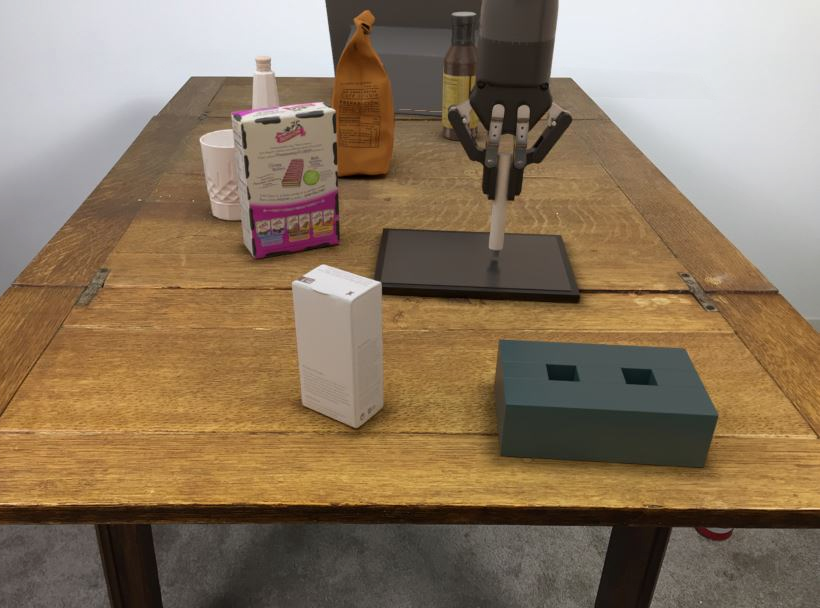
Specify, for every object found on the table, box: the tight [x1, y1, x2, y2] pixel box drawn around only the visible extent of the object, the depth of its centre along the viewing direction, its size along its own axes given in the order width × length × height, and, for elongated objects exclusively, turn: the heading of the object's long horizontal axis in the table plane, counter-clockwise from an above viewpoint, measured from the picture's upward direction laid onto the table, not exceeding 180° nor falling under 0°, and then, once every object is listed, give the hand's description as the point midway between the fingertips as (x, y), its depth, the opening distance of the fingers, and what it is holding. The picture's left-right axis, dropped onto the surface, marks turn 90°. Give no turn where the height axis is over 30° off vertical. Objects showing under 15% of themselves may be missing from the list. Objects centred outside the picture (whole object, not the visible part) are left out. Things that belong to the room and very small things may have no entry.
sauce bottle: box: [441, 12, 480, 142], centre depth 130 cm, size 6×6×20 cm
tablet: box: [373, 227, 581, 304], centre depth 91 cm, size 16×22×1 cm
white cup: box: [199, 128, 242, 221], centre depth 103 cm, size 8×8×10 cm
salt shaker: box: [251, 55, 281, 110], centre depth 141 cm, size 5×5×11 cm
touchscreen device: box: [324, 0, 482, 117], centre depth 148 cm, size 35×20×30 cm, turn 77°
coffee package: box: [330, 10, 396, 178], centre depth 116 cm, size 10×12×22 cm
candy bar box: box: [230, 101, 341, 260], centre depth 92 cm, size 11×5×16 cm, turn 114°
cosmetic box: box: [291, 263, 385, 429], centre depth 64 cm, size 6×4×12 cm
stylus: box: [489, 151, 513, 257], centre depth 87 cm, size 2×2×12 cm
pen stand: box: [493, 338, 720, 468], centre depth 64 cm, size 10×16×5 cm, turn 85°
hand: (500, 197), depth 87 cm, fingers closed on stylus, 1 cm apart
